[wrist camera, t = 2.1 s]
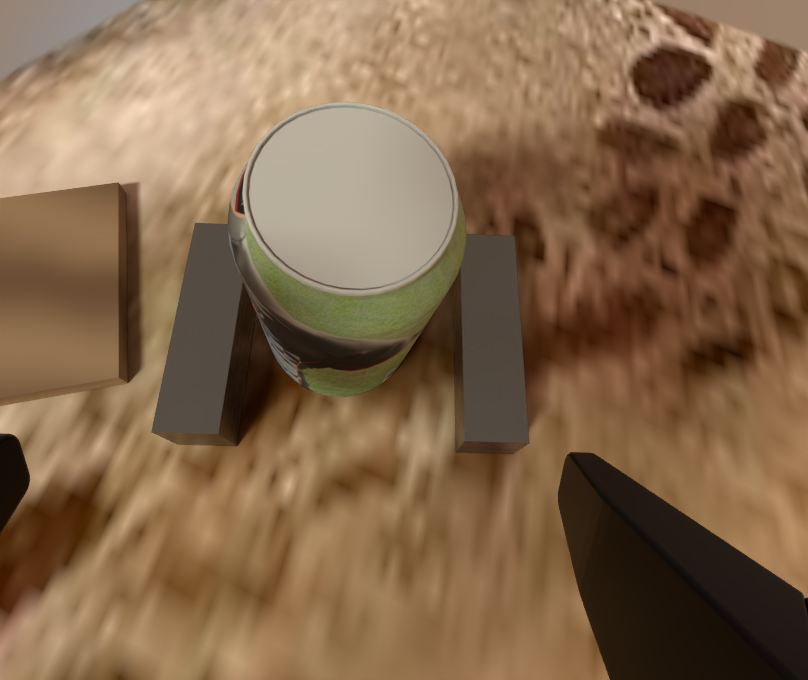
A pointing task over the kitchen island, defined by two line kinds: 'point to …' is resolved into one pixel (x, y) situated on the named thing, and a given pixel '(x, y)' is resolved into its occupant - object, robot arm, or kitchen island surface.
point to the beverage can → (345, 242)
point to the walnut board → (63, 292)
